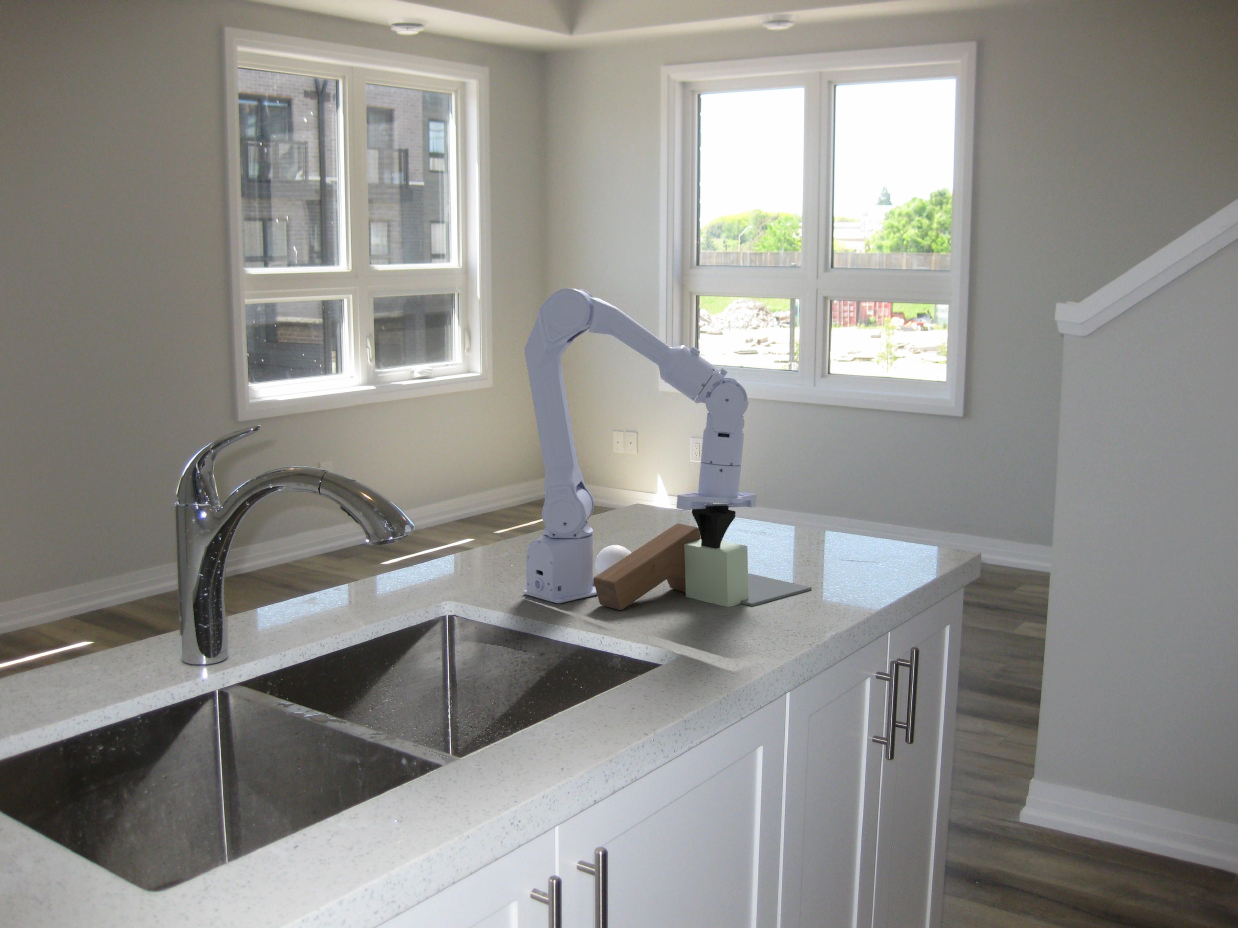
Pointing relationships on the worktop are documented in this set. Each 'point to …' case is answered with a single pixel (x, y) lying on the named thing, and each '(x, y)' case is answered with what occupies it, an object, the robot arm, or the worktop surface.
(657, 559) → the wooden block
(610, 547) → the lightbulb
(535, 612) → the worktop surface
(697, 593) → the sage block
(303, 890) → the worktop surface
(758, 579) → the mat
